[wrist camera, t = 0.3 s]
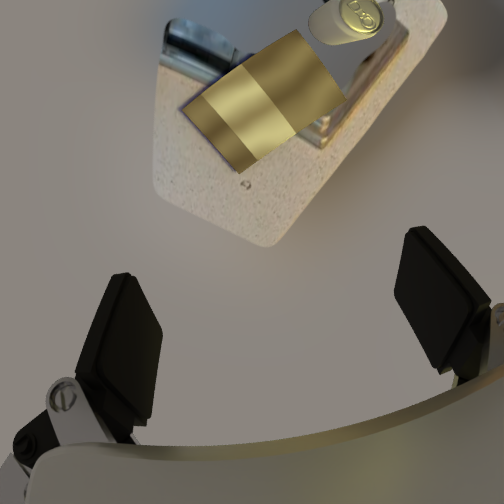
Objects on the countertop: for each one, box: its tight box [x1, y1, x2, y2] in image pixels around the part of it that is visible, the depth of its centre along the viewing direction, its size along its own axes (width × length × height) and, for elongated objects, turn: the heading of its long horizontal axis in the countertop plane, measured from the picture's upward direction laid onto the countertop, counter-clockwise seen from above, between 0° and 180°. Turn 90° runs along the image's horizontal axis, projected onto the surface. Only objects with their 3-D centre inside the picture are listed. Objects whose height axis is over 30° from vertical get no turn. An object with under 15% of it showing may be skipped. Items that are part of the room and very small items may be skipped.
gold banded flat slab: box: [182, 30, 347, 174], centre depth 37 cm, size 13×20×2 cm, turn 127°
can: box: [308, 0, 384, 45], centre depth 26 cm, size 6×6×12 cm
